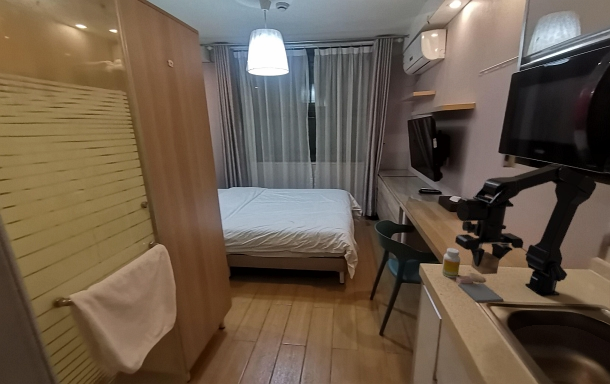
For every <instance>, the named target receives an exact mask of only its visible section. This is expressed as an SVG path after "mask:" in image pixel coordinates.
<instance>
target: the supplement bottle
mask: <svg viewBox="0 0 610 384" xmlns="http://www.w3.org/2000/svg"><path fill="white" fill-rule="evenodd" d="M459 255H460V250H458V249H457V248H453V247H448V248H446V253H444V255H443V258H442V259H443V260H442V267H441V273H442V275H443V276H445V277H447V278H449V279H450V278H455V279H456V277H459V271H460V263H461V257H460V256H459Z"/></svg>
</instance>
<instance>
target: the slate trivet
mask: <svg viewBox="0 0 610 384" xmlns="http://www.w3.org/2000/svg"><path fill="white" fill-rule="evenodd" d="M457 284H458V287H459V288H460V289H461V290H462V291H463V292H464V293H465V294H467V295H468V297H470V298H471V299H472V300H473V301H474V302H475V303H483V302H486V303H487V302H503V301H504V299H503V298H502V296H500V294H497V293H496V292H495V291H494V290H492V289H491V288H490V287H489V286H488V285H486V284H485V282H476V283H470V284H459V283H457Z"/></svg>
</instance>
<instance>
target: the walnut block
mask: <svg viewBox="0 0 610 384" xmlns="http://www.w3.org/2000/svg"><path fill="white" fill-rule="evenodd" d="M499 264H500V261H499V259H498V258H497V257H495V256H494V255H492V253H490V252H489V251H485V252H484V255H483V257H482V260H481V262H480V265H479V266H478V267H477V266H475V263H474V259H473V258H472V261H471V267H472V269H474V270H475V271H477V272H478V273H480V275H496V274H498V269H499Z"/></svg>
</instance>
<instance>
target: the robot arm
mask: <svg viewBox="0 0 610 384" xmlns="http://www.w3.org/2000/svg"><path fill="white" fill-rule="evenodd" d="M549 182H551V183H553V184H555V188H554V193H555V198H556V203H555V205H554V208H553V210H552V213H551V215H550V216H549V220H548V221H547V222H548V223H547V224H546V227H545V228H544V231H543V234H542V236H541V239H540V241H539V242H537V243H536V244H534V245H533V244H530V245H529V246H528V250H527V251H526V253H525V254H524V255H525V261H526V262H527V267H528V268H529V269H531V270H532V273H531V275H530V278H529V283H524V285H525V286H526V287H527V288H529V289H530V290H532V291H533V292H535V293H537V294H538V295H539V296H543V297H545V296H559V295H560V293H559V292H558V291H556V288H557V283H558V282H562V281H565V280H566V277H567V276H568V273H567V272H566V271H565V270H564V269H563V267H562V266H561V265H562V261H563V255H562V252H561V246H562V244H563V241H564V239H565V238H566V235H567V232H568V230H569V228H570V226H571V224H572V221H573V220H574V217H575V214H576V212H577V210H578V207H579V206H580V205H582V204H584V203H585V202H586V201H588V200H589V199H590V198H591V197H592V195H593V194H594V191H595V190H596V189H597V188H596V187H597V183H596V181H595V179H594V178H593V177H590V176H587V175H584V174H581V173H579V172H577V171H574V170H572V169H571V168H569V167H567V166H566V165H561V164H556V163H555V164H554V163H551V164H547V165H545V166H543V167H540V168H537V169H534V170H530V171H527V172H524V173H520V174H517V175H514V176H513V175H512V176H502V177H499V176H498V177H491V178H488V179H486V180H485V181H484V183H483V185H482V186H481V187H480V188H479V189H478V190H477V191H476V193H475V194H474V195H473V197H472V198H462V202H460V203H459V204H458V205H457V207H456V215H457V218H458V220H459V221H461V222H462V224H461V227H462V231H464V232H466V233H467V234H466V233H465V234H457V236H456V237H455V241H454V242H455V244H457V245H459V246H460V247H462V248H463V249H464V250H467V251H470V252H471V254H472V259H474V263H475V266H477V267H478V266H479V265H480V262H481V260H482V257H483V255H484V252H486V250H485V249H483V245H491V247H492V250H491V254H492V255H494V256H495V257H497V258H498V259H499V262H500V261H501V259H502V258H503V257H505V256H506V255H507V254H508V253H509V252H512V251H513V250H514V249H523V247H524V240H523V238H521V237H520V236H518V235H515V234H513V233H511V232H506V233H505V232H503V230H507V225H505V223H504V222H505V217H506V211H507V208H513V207H514V204H513V203H512V202H511V201H510V200H511V199H512V198H514V197H516V196H518V195H519V193H520V192H522V191H524V190H527V189H531V188H534V187H537V186H541V185H544V184H548V183H549ZM474 221H475V222H476V223H473V222H474ZM502 232H503V233H502ZM470 234H473V236H475V237H473V236H472V235H470ZM510 244H511V247H510Z"/></svg>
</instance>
